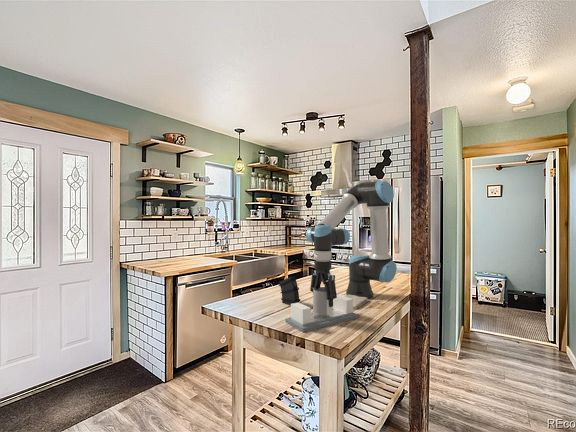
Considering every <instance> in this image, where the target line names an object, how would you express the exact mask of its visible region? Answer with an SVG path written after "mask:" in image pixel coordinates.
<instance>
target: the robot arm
mask: <svg viewBox="0 0 576 432" xmlns="http://www.w3.org/2000/svg"><path fill="white" fill-rule="evenodd" d="M394 196H395V193H394V189H393V186H392V184H391V183H390V182H389V181H386V180H376V181H375V180H374V181H363V182H359V183H358V184H356V185H353V186H352V187H350V189H348V190H347V191H346V192H345V193H344V194H343V195H342V197H341V198H342V199H340V201H339V202H338V203H337V204H336V205H335V206H334V207H333V208H332V209H331V210H330V211H329V213H327V214H326V215H325V217H323V219H322V220H321V221H319V223H318V224H317V225H315V226H314V227H313V226H312V227H308V229H307V230H306V232H305V238H306V240H307V241H308V242H309V243H313V244H314V261H313V262H314V264H313V265H314V270H311V280H310V288H309V291H310V292H311V293H313V289H314V288H316V289H318V288H320V287H321V285H322V284H323V285H324V286H323V287H325V289H326V292H327V297H328V298H327V315H328V314H333V299H335V298H337V295H338V294H337V288H336V275H335V274H331V271H330V270H331V269H332V261H331V260H332V247H333V246H343V245H346V244H348V243H349V242H350V240H351V239H350V238H351V234H350V232H349V230H347V229H345V228H336V227H337V226H338V225H339V224H340V223H341V222H342V221H343V220H344V218H345V217H347V215H348V214H349V213H350V211H352V210H353V209H355V208H357V207H358V206H359V205H362V204H366V208H368V210H369V218H370V223H369V224H370V241H371V242H370V243H371V244H370V245H371V254H369V255H368V254H366V255H365V254H364V255H363V254H362V255H361V254H360V255H353V256H350V257H349V261H348V262H349V263H348V271H349V272H348V277H349V281H348V286H347V288H346V291H345V296H347V295H355V296H358V297H366V298H368V299H372V298H373V297H374V291H373V288H372V285H371V281H375V282H380V283H391V281H392V282H393V280H394V278H395V276H396V274H397V271H398V270H397V264H396V262H395V261H394V260H392V255H390V253H389V239H388V238H389V235H388V234H389V233H388V212H387V209H388V208H389V207H390V203H392V202H393V200H394ZM368 299H367V300H368Z"/></svg>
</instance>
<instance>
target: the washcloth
mask: <svg viewBox="0 0 576 432" xmlns="http://www.w3.org/2000/svg"><path fill="white" fill-rule="evenodd" d="M344 296H345V297H348V298H351V299H353V310H357V309H358V308H360V307H362V306H363V305H365V304H366V303H368V298H366V297H358V296H355V295H344Z"/></svg>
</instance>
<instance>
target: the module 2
mask: <svg viewBox="0 0 576 432" xmlns="http://www.w3.org/2000/svg"><path fill="white" fill-rule="evenodd" d="M345 296H346V295H342V294H337V298H335V299H333V308H334V309H336V310H339V311H341V312H343V313H346V314H348V313H352V312H353V313H354V309H353V299H351V298H348V297H345Z"/></svg>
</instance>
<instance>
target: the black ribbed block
mask: <svg viewBox="0 0 576 432" xmlns="http://www.w3.org/2000/svg"><path fill="white" fill-rule="evenodd" d="M278 286H279V287H280V290H281V291H280V294H281V298H280V300H281V303H282V304H285V305H288V306H290V307H291V304H293V303H298V302H299V303H301V298H300V291H299V290H300V287H298V283H297V277H296V276H295V275H294V276H289V277H287V278H285V279H283V280H281V281H279V282H278Z"/></svg>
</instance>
